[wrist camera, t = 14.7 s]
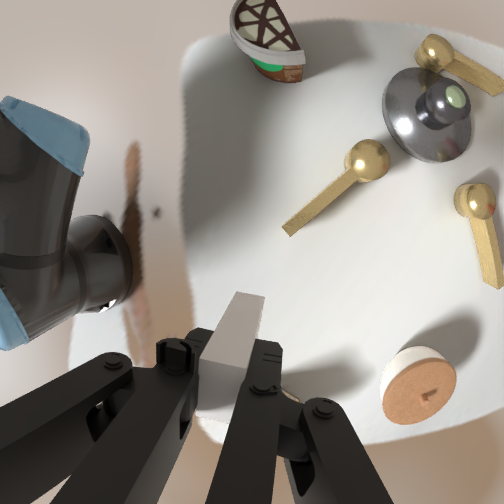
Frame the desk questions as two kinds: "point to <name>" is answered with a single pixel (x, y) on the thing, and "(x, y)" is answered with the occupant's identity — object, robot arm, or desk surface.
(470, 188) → the gold lever handle
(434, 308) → the desk surface
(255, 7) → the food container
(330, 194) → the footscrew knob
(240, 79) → the desk surface
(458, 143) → the base
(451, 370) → the lidded jar
